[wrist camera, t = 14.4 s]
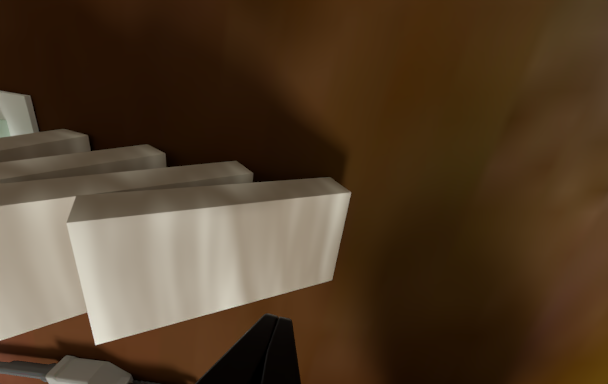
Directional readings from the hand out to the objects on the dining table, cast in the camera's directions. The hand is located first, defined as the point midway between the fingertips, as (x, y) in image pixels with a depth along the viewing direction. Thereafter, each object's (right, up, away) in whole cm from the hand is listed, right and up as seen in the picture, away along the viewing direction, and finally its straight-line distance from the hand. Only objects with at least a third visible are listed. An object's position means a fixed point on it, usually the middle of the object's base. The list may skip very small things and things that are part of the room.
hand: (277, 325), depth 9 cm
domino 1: (+2, +2, +6) cm, 6 cm away
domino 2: (-2, +3, +6) cm, 7 cm away
